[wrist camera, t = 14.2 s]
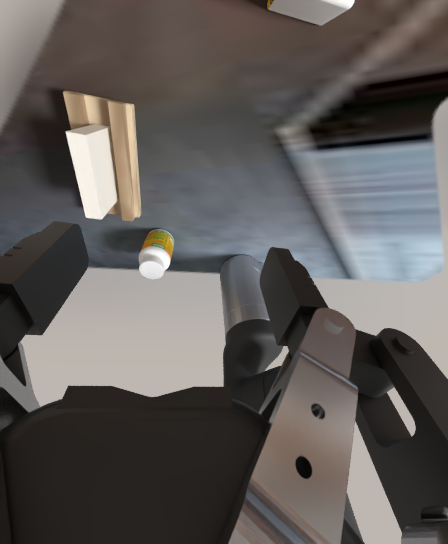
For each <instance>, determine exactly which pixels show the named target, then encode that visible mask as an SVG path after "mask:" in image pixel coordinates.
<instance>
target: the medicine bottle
mask: <svg viewBox="0 0 448 544" xmlns="http://www.w3.org/2000/svg"><path fill="white" fill-rule="evenodd" d="M353 3H354V0H268V3H267V8H268V10H270V11H274V12H277V13H280V14H284V15H287V16H290V17H293V18H297V19H300V20H303V21H307V22H310V23H313V24H317V25H320V26H321V25H323V24H325V23H326V22H328V21H330V20H331V19H333V18H335V17H336V16H338V15H340V14H341V13H343V12H345V11H346V10H348V9H350V8H351V7H352V5H353Z"/></svg>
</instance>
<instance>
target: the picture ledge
mask: <svg viewBox="0 0 448 544" xmlns="http://www.w3.org/2000/svg"><path fill="white" fill-rule="evenodd" d="M63 94H64V99H65V103H66V108H67V112H68V117H69V121H70V126H71V130H73V129H77V128H81V127H85V126H89V125H93V124H98V125H103V126H108V127H111V135H112V143H113V150H114V158H115V166H116V174H117V182H118V190H119V199H118V201H117V202H116V203H115V204H114V205H113V206H112V208H111V209H110V210H109V211H108V212H107V213H109V214H117V215H122V220H126V221H133V220H134V218H135V217H140V215H141V202H140V187H139V172H138V157H137V142H136V126H135V111H134V104H130V103H125V102H121V101H116V100H111V99H106V98H101V97H96V96H92V95H87V94H82V93H77V92H72V91H64V92H63Z"/></svg>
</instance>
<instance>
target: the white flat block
mask: <svg viewBox="0 0 448 544" xmlns="http://www.w3.org/2000/svg"><path fill="white" fill-rule="evenodd" d="M66 136H67V140H68V144H69V148H70V152H71V157H72V161H73V165H74V169H75V174H76V178H77V182H78V186H79V190H80V195H81V199H82V203H83V207H84V211H85V216H86V218H94V219H102V218H103V217H104V216H105V215H106V214H107V212H108V211H109V210H110V209H111V208H112V206H113V205H114V204H115V203H116V202H117V201H118V199H119V190H118V182H117V174H116V166H115V158H114V150H113V143H112V135H111V127H108V126H103V125H98V124H93V125H89V126H85V127H81V128H77V129H73V130H70V131H66Z"/></svg>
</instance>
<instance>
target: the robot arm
mask: <svg viewBox="0 0 448 544" xmlns="http://www.w3.org/2000/svg"><path fill="white" fill-rule="evenodd" d="M87 267H88V254H87V250H86V246H85V242H84V239H83V235H82V231H81V228H80V226H79V225H78V224H73V223H65V222H52V223H51V224H50V225H49V226H47V227H46V228H45V229H44V230H43V231H41V232H38V233H36V234H33V235H31V236H29V237H26V238H24V239H22V240H21V241H20V242H19V243H17V244H16V245H15V246H14V247H13V249H10V250H9V251H7V252H6V253H5V254H4V256H1V257H0V544H365V543H364V542H363V540H362V537H361V534H360V531H359V528H358V525H357V523H356V519H355V516H354V513H353V511H352V507H351V504H350V502H349V498H348V495H347V484H348V476H349V468H350V459H351V451H352V442H353V433H354V424H355V421H356V423H357V425H358V428H359V430H360V433H361V435H362V437H363V440H364V442H365V445H366V447H367V450H368V452H369V454H370V457H371V459H372V462H373V464H374V466H375V469H376V471H377V474H378V476H379V478H380V481H381V483H382V486H383V488H384V491H385V493H386V495H387V498H388V500H389V502H390V505H391V507H392V510H393V512H394V515H395V517H396V519H397V522H398V524H399V527H400V529H401V531H402V538H401V544H448V379H447V378H446V377H445V376H444V374H443V373H442V372H441V371H440V370H439V368H438V367H437V366H436V364H435V363H434V362H433V361H432V359H431V358H430V357H429V356H428V355H427V353H426V352H425V351H424V349H423V348H422V347H421V346H420V345H419V344H418V343H417V342H416V341H415V340H414V339H412V338H411V337H410V336H408V335H406V334H405V333H403V332H401V331H399V330H396V329H391V328H385V329H383V330H382V331H381V332H380V333H379V334H378V335H377V336H374V335H371V334H368V333H365V332H362V331H358V330H356V329H355V327H354V325H353V324H352V323H351V321H350V320H349V319H348V318H347V317H345V316H344V315H343V314H341V313H340V312H338V311H336V310H333V309H330V308H328V306H327V304H326V303H325V301H324V299H323V297H322V296H321V294H320V292H319V290H318V289H317V287H316V285H314V282H313V280H312V278H310V275H309V273H308V271H307V270H306V268H305V267H304V266H303V265H301V264H300V263H299V262H298V261H295V260H294V258H293V257H292V255H291V253H290V251H289V250H288V249H283V248H275V247H271V248H270V250H269V252H268V254H267V257H266V260H265V263H264V265H263V263H260V262H258V261H256V260H255V259H254V258H252V257H250V256H247V255H238V256H234V257H231V258H229V259H228V260H226V261H225V262H224V263H223V265H222V266H221V269H220V280H221V291H222V303H223V314H224V325H225V337H226V346H225V348H224V353H223V364H224V365H223V367H224V387H192V388H188V389H184V390H180V391H176V392H173V393H169V394H165V395H162V396H158V397H147V396H144V395H140V394H137V393H134V392H130V391H127V390H123V389H120V388H117V387H113V386H68V388H67V390H66V392H65V394H64V396H63V399H61V400H58V401H55V402H52V403H49V404H46V405H44V406H42V407H40V405H39V403H38V401H37V400H36V397H35V395H34V392H33V389H32V384H31V380H30V375H29V371H28V367H27V362H26V358H25V353H24V349H23V346H22V344H21V343H20V341H21V340H22V338H23V337H24V336H25V335H43V333H44V332H45V330H46V329H47V327H48V326H49V324H50V323H51V321H52V320H53V318H54V317H55V316H56V314H57V313H58V311H59V310H60V308H61V307H62V305H63V304H64V302H65V301H66V299H67V298H68V296H69V295H70V293H71V292H72V291H73V289H74V288H75V286H76V285H77V283H78V282H79V280H80V279H81V277H82V276H83V274H84V273H85V271H86V270H87ZM283 346H288V349H289V352H288V354H287V355H286V358H285V360H284V362H283V364H282V366H278V367H275V368H273V369H270V370H267V371H265V370H266V368H267V367H268V366H269V364H271V362H273V361H274V360H275V359H276V358H277V357H278V356H279V354H280V353H281V351H282V349H283ZM393 387H395V389H396V390H397V392H398V394H399V395H400V397H401V399H402V400H403V402H404V403H405V405H406V407H407V409H408V410H409V412H410V414H411V415H412V417H413V419H414V421H415V426H416V431H415V434H414V435H413V436H412V437H411V435H410V433H409V431H408V430H407V428H406V426H405V424H404V422H403V421H402V419H401V417H400V415H399V413H398V412H397V410H396V408H395V406H394V405H393V403H392V401H391V400H390V397H389V396H388V394H387V392H388V391H389V390H391V389H392V388H393Z"/></svg>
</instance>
